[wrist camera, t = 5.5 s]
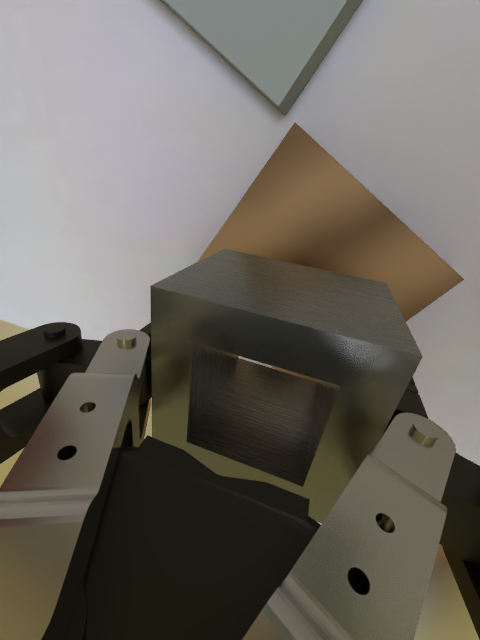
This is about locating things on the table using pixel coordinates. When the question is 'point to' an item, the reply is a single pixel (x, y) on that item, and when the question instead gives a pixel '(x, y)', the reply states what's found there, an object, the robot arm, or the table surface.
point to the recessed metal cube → (273, 385)
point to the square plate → (269, 38)
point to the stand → (331, 227)
